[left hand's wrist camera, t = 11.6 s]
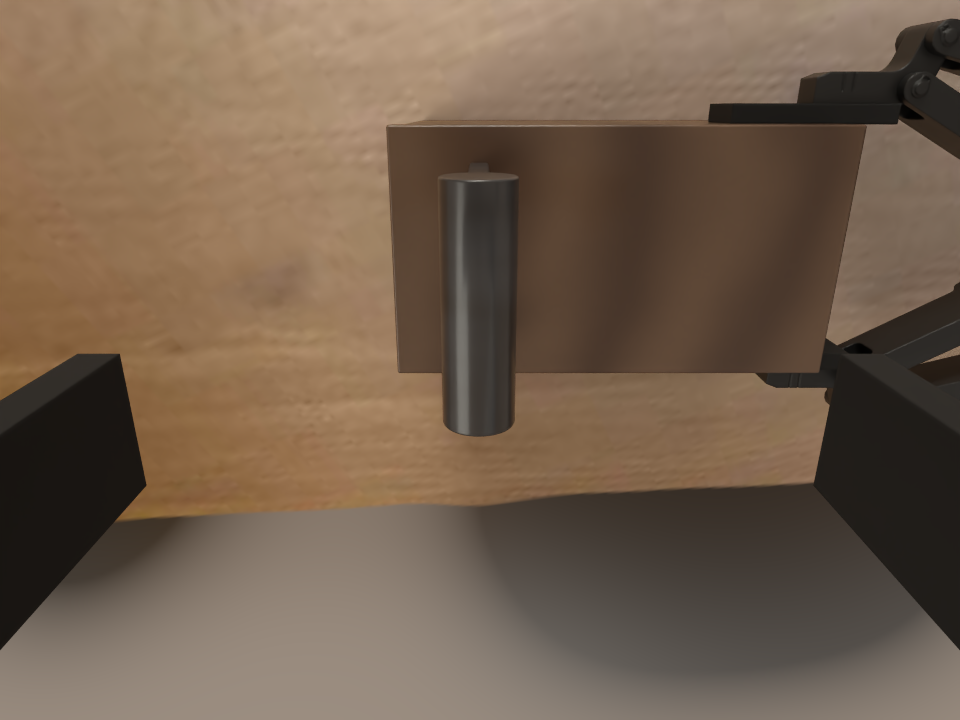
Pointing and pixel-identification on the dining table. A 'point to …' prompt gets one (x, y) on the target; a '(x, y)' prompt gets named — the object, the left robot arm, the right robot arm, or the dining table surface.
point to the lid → (612, 251)
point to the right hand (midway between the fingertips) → (704, 240)
